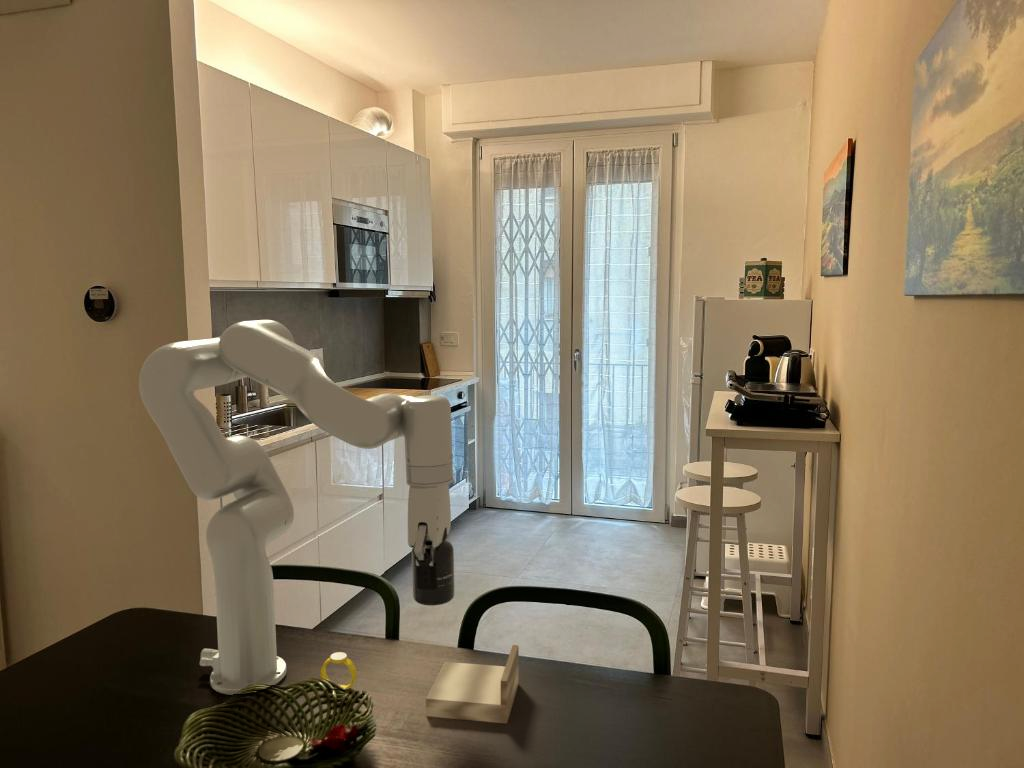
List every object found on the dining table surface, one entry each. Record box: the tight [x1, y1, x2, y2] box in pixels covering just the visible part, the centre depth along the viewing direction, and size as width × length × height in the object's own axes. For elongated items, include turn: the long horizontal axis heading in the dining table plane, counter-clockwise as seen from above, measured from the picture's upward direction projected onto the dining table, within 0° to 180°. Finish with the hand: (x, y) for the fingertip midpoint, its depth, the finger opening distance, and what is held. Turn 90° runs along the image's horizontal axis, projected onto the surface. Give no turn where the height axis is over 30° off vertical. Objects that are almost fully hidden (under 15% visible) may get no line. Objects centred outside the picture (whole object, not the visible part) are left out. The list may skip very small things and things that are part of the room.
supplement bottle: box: [411, 527, 455, 607], centre depth 122 cm, size 7×7×12 cm
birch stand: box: [425, 644, 520, 724], centre depth 123 cm, size 13×12×7 cm
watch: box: [320, 651, 358, 690], centre depth 127 cm, size 6×3×6 cm, turn 78°
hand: (433, 578), depth 122 cm, fingers closed on supplement bottle, 6 cm apart
